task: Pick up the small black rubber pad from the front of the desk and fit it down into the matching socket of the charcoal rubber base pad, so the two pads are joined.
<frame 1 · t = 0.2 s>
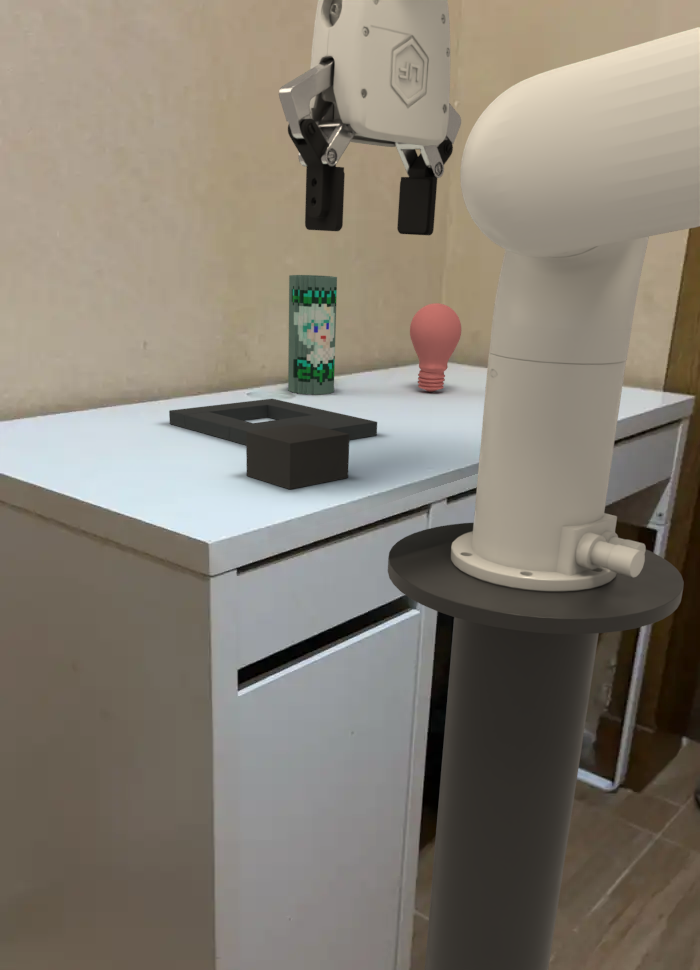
hand: (371, 232, 69), 21 cm above the table, tool pointing down, fingers open, 9 cm apart
base pad: (272, 429, 104), on the table
black pad: (297, 476, 85), on the table
light bulb: (431, 393, 133), on the table
can: (311, 392, 130), on the table
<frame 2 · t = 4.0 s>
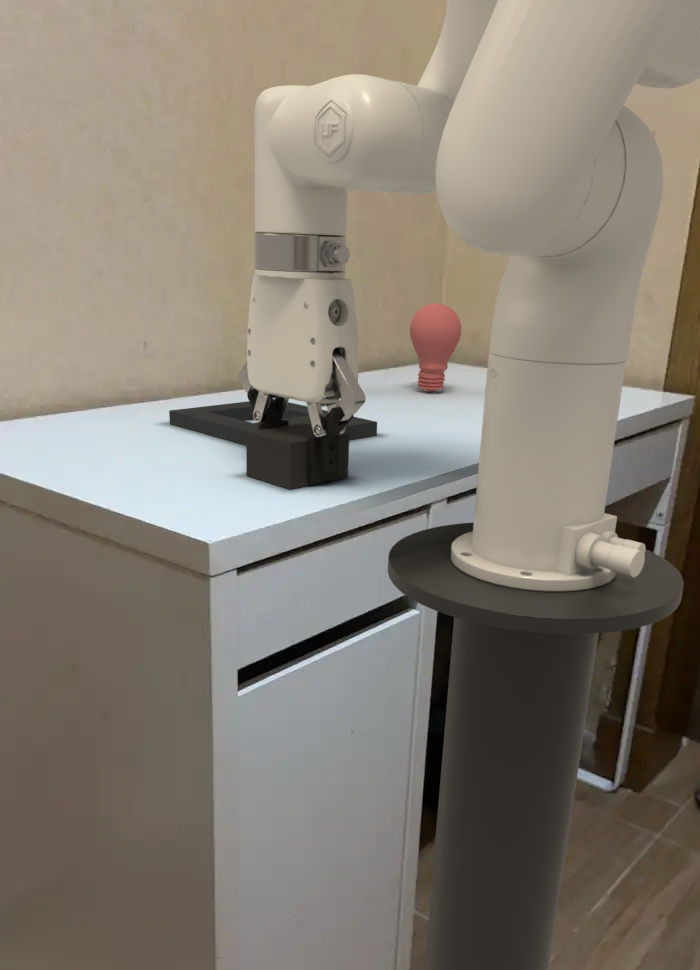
hand: (297, 470, 84), 1 cm above the table, tool pointing down, fingers closed on black pad, 6 cm apart
black pad: (297, 476, 85), on the table, touching gripper
everything else where it was.
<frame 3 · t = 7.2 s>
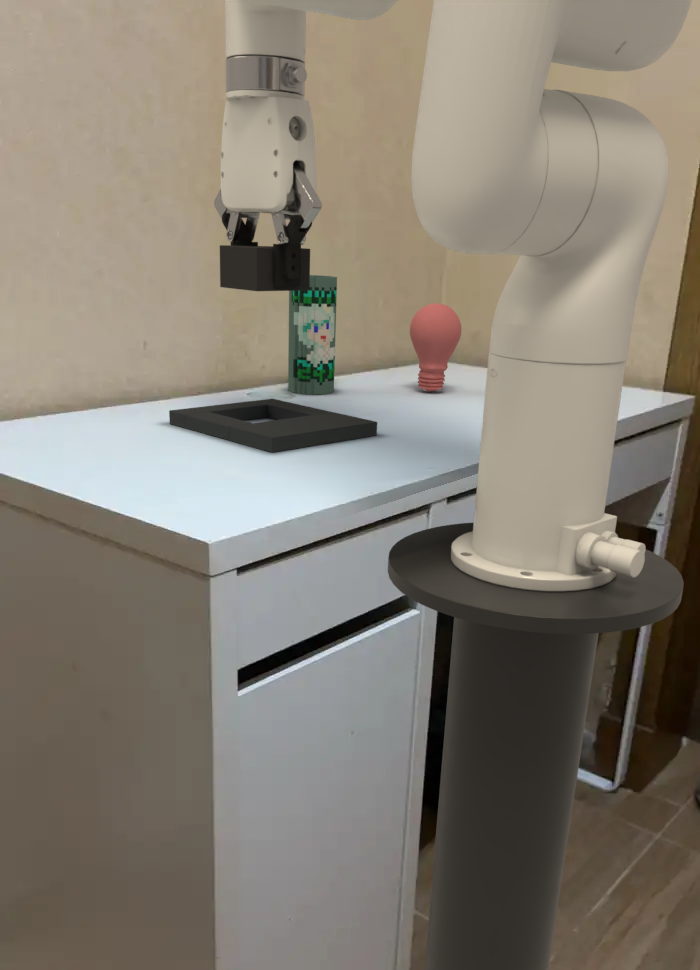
hand: (265, 282, 96), 15 cm above the table, tool pointing down, fingers closed on black pad, 6 cm apart
black pad: (265, 288, 96), point 15 cm above the table, touching gripper
everything else where it was.
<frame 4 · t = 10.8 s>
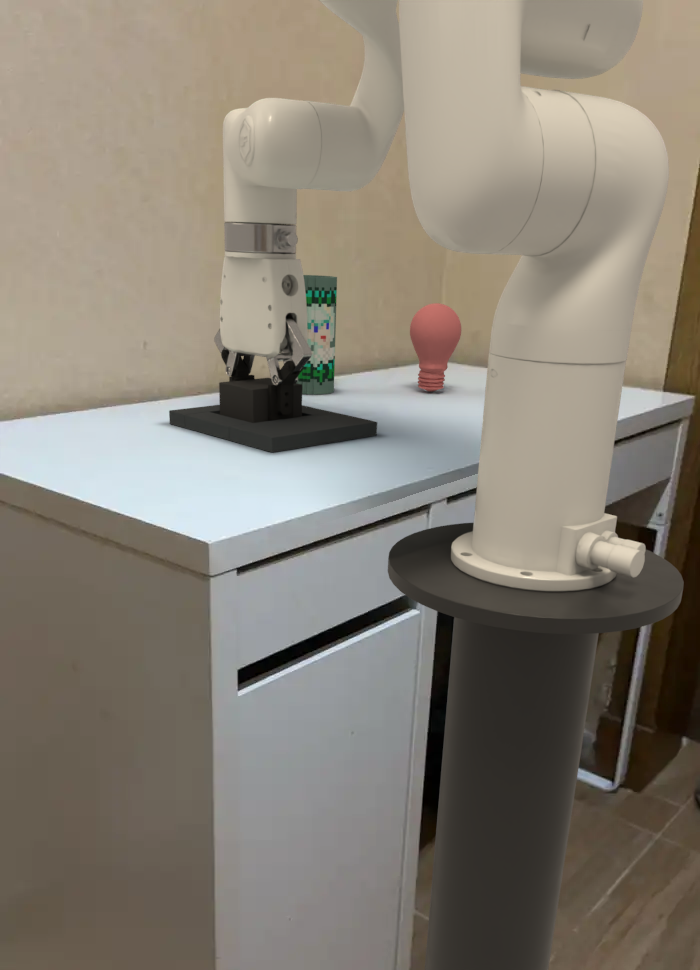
hand: (261, 414, 105), 1 cm above the table, tool pointing down, fingers closed on black pad, 6 cm apart
black pad: (260, 419, 105), point 1 cm above the table, touching gripper
everything else where it was.
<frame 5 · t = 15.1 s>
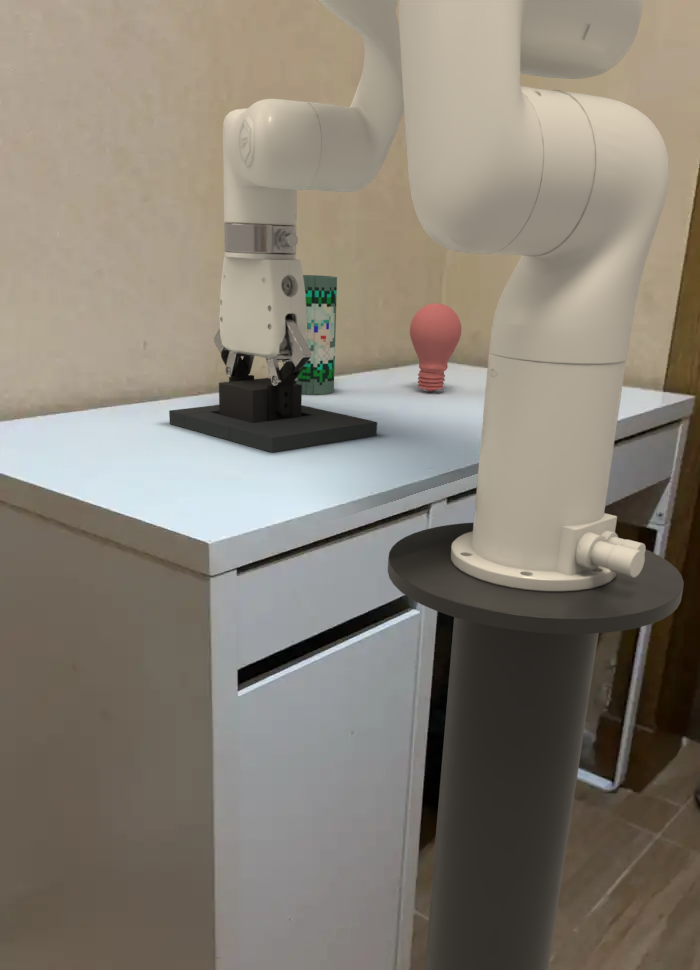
hand: (260, 414, 105), 1 cm above the table, tool pointing down, fingers closed on black pad, 6 cm apart
black pad: (260, 419, 105), point 1 cm above the table, touching gripper
everything else where it was.
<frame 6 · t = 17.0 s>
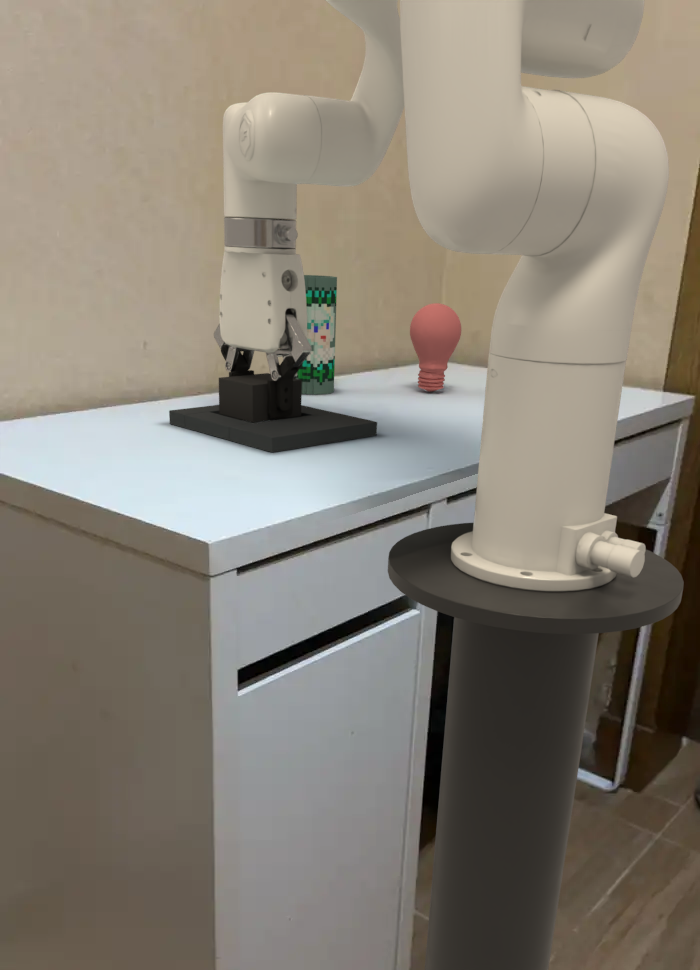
hand: (260, 410, 105), 2 cm above the table, tool pointing down, fingers closed on black pad, 6 cm apart
black pad: (260, 415, 105), point 1 cm above the table, touching gripper
everything else where it was.
when the fingers open (2 cm above the table, at t = 18.8 s): black pad drops 2 cm, resting in base pad.
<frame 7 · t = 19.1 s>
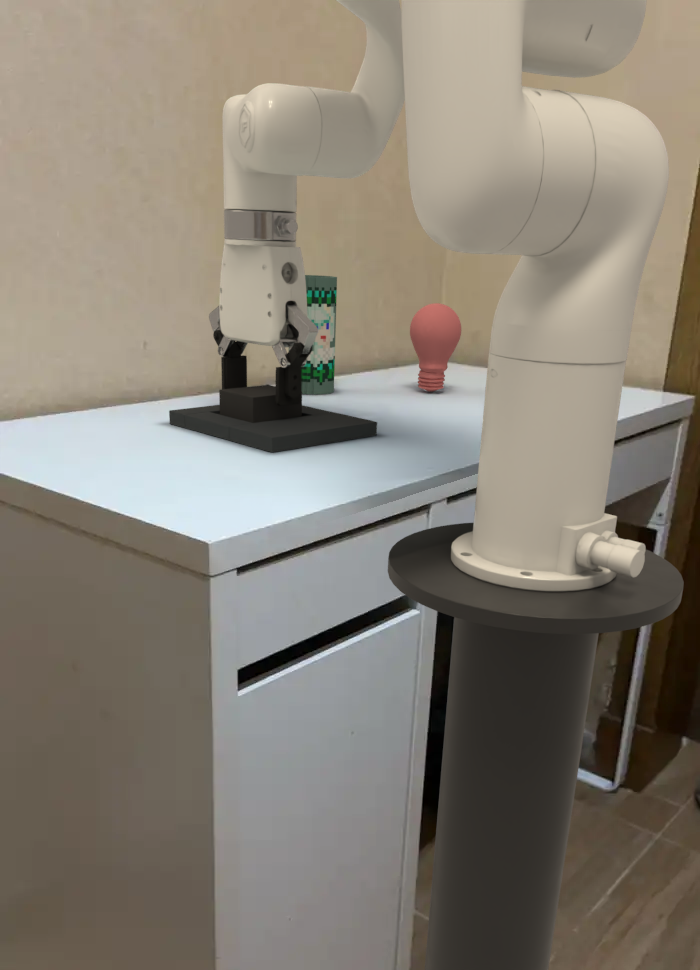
hand: (260, 397, 104), 3 cm above the table, tool pointing down, fingers open, 9 cm apart
black pad: (260, 426, 105), resting in base pad
everything else where it was.
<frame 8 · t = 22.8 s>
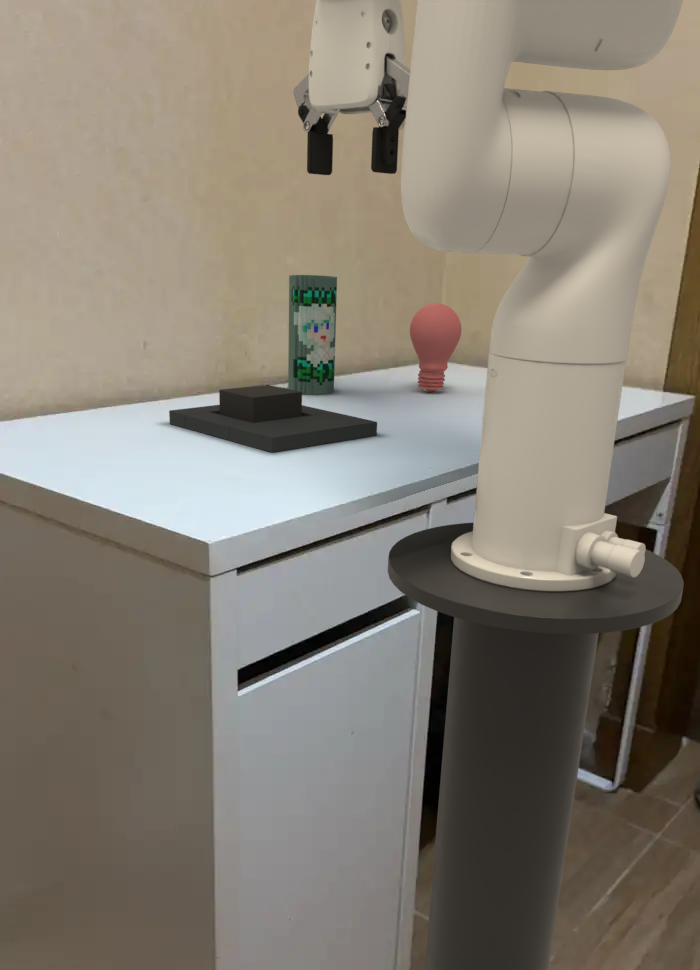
hand: (350, 173, 99), 26 cm above the table, tool pointing down, fingers open, 9 cm apart
nothing on the table moved.
at the end: black pad 0.1 cm from the target spot on the base pad, point 0.0 cm above the base pad's base; black pad tilted 0°; the gripper is holding nothing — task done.
